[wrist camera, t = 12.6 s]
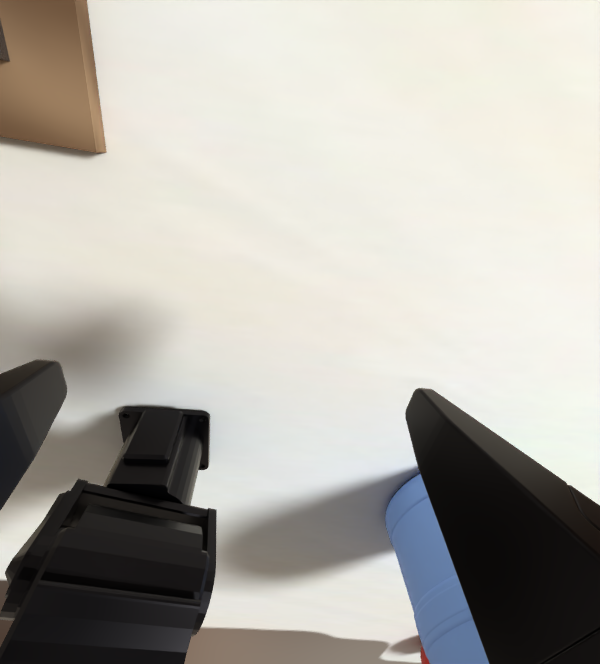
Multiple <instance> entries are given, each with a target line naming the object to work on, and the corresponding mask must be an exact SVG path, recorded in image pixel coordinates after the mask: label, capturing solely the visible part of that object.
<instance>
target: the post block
mask: <svg viewBox="0 0 600 664" xmlns="http://www.w3.org/2000/svg"><path fill="white" fill-rule="evenodd" d="M0 20H1V24H2V28H3V33H4V37H5V41H6V45H7V50H8V54H9V58H10V62H9V61H4V60H0V136H1V137H7V138H13V139H19V140H24V141H30V142H36V143H42V144H48V145H54V146H60V147H66V148H72V149H78V150H84V151H90V152H96V153H100V152H106V146H105V138H104V131H103V123H102V115H101V107H100V100H99V92H98V84H97V77H96V69H95V61H94V53H93V46H92V38H91V30H90V23H89V15H88V7H87V0H0Z"/></svg>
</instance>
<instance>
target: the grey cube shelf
mask: <svg viewBox="0 0 600 664" xmlns="http://www.w3.org/2000/svg"><path fill="white" fill-rule="evenodd" d="M0 60H4V61H9V62H10V58H9V54H8V50H7V45H6V41H5V37H4V33H3V28H2V24H1V20H0Z"/></svg>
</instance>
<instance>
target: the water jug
mask: <svg viewBox="0 0 600 664" xmlns="http://www.w3.org/2000/svg"><path fill="white" fill-rule="evenodd" d="M385 523H386V528H387V531H388V534H389V538H390V541H391V544H392V546H393V547H394V549H395V552H396V556H397V559H398V562H399V565H400V569H401V572H402V575H403V578H404V582H405V585H406V588H407V591H408V595H409V598H410V601H411V604H412V608H413V611H414V618H415V622H416V627H417V630H418V633H419V636H420V640H421V643H422V646H423V649H424V651H425V655H426V657H427V658H428V660H429V663H430V664H489V662H488V659H487V656H486V653H485V651H484V648H483V645H482V642H481V640H480V637H479V634H478V631H477V629H476V626H475V623H474V620H473V618H472V615H471V612H470V609H469V607H468V604H467V601H466V598H465V596H464V593H463V590H462V587H461V585H460V582H459V579H458V576H457V574H456V571H455V568H454V565H453V563H452V560H451V557H450V554H449V552H448V549H447V546H446V543H445V541H444V538H443V535H442V532H441V529H440V527H439V524H438V521H437V518H436V516H435V513H434V510H433V507H432V505H431V502H430V499H429V496H428V494H427V491H426V488H425V485H424V483H423V480H422V477H421V474H419V475H417V476H415V477H414V478H412V479H411V480H410V481H408V482H407V483H406V484H405V485H403V486H402V487H401V488H400V489H399V490H398V491H397V492H396V494H395V495H394V496H393V498H392V499H391V501H390V503H389V505H388V507H387V510H386V516H385Z"/></svg>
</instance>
